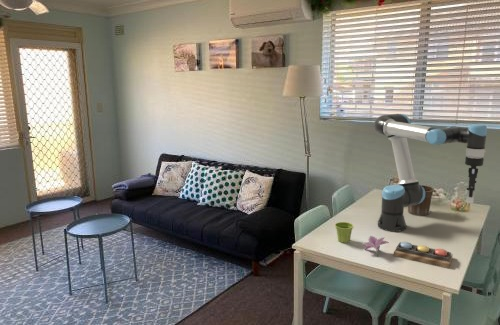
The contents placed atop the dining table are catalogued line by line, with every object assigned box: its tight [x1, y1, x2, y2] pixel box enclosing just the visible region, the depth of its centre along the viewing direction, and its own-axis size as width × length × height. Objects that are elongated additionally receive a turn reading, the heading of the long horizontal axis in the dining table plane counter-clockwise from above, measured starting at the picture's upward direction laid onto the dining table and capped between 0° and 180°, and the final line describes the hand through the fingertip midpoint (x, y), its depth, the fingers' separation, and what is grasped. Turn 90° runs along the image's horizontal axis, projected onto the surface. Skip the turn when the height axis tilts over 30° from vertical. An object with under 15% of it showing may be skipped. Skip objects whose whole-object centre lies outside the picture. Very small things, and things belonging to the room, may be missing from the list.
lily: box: [362, 235, 390, 257], centre depth 179 cm, size 12×12×10 cm
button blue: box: [400, 241, 413, 249], centre depth 178 cm, size 5×5×2 cm
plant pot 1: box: [334, 221, 354, 244], centre depth 195 cm, size 9×9×9 cm
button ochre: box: [417, 244, 430, 253], centre depth 174 cm, size 5×5×2 cm
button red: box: [434, 248, 448, 257], centre depth 170 cm, size 5×5×2 cm
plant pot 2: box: [407, 184, 435, 217], centre depth 234 cm, size 16×16×16 cm
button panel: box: [393, 241, 454, 269], centre depth 175 cm, size 23×12×4 cm, turn 56°
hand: (470, 199), depth 183 cm, fingers open, 13 cm apart
